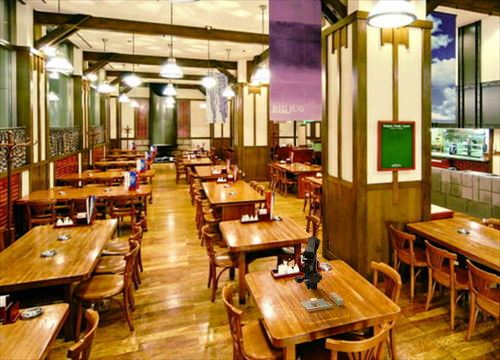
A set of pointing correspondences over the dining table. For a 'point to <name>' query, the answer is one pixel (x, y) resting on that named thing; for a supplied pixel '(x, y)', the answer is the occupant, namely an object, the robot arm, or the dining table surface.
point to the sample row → (336, 298)
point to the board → (316, 305)
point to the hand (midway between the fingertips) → (308, 289)
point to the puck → (313, 301)
